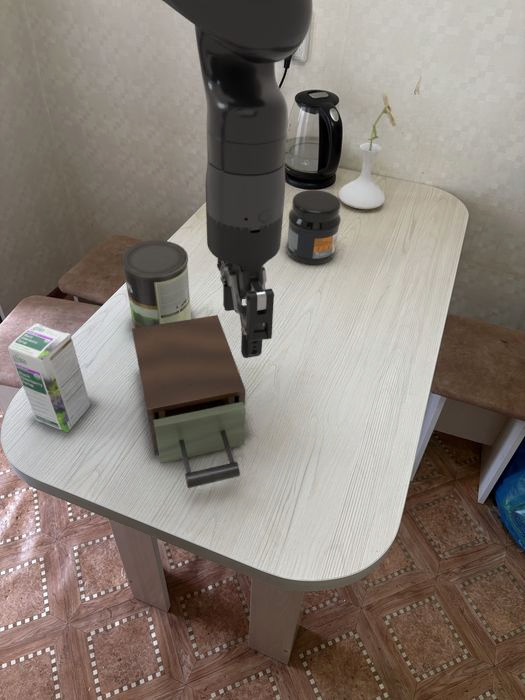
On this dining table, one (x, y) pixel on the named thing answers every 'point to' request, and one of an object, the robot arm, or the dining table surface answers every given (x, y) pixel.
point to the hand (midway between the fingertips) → (241, 330)
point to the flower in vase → (367, 173)
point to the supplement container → (313, 226)
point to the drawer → (202, 437)
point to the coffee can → (157, 283)
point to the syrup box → (50, 376)
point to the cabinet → (185, 366)
